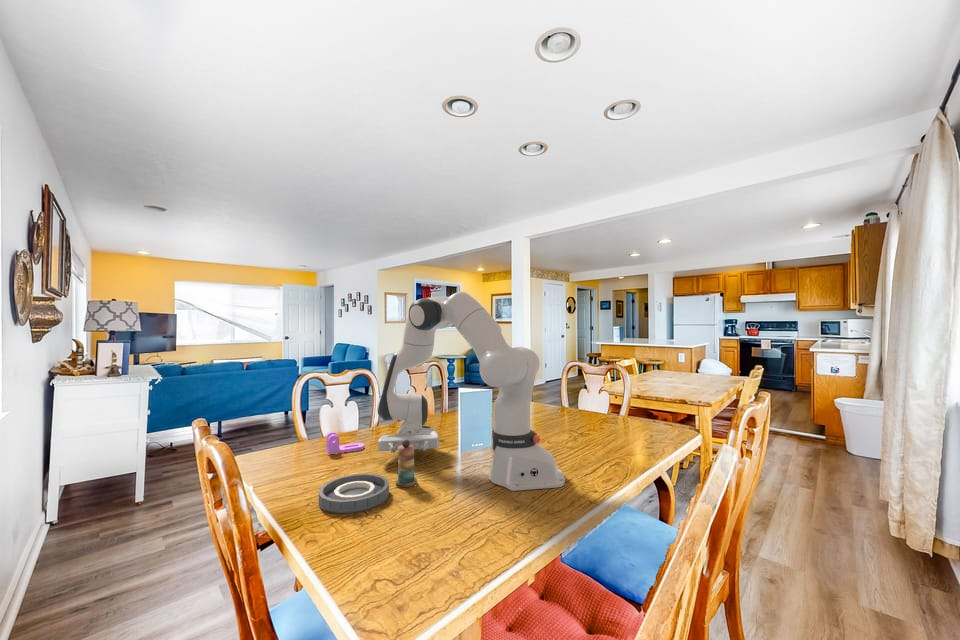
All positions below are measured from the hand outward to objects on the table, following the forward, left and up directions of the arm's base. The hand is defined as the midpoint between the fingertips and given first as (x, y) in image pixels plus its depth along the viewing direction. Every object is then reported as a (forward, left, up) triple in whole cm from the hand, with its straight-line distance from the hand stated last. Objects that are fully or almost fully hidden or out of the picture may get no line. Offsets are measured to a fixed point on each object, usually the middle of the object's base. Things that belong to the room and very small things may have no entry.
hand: (408, 449), depth 126 cm
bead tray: (+10, +20, -7) cm, 23 cm away
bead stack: (-2, +11, -7) cm, 13 cm away
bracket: (+27, -19, -7) cm, 34 cm away
